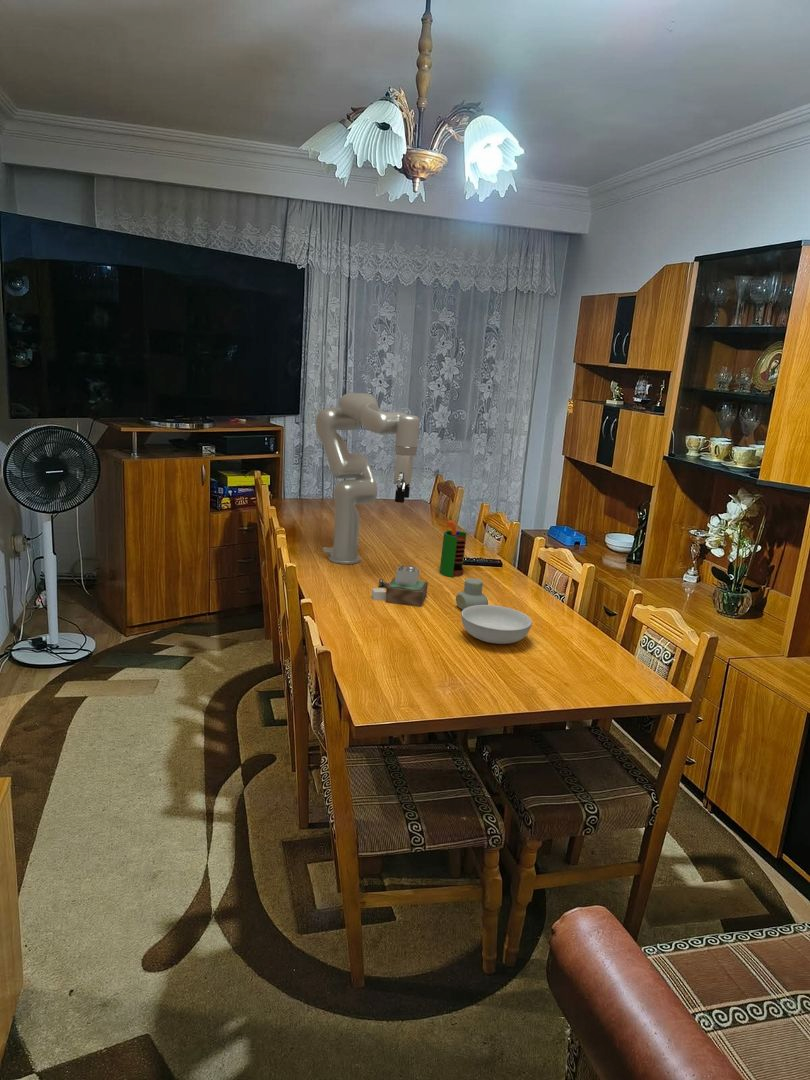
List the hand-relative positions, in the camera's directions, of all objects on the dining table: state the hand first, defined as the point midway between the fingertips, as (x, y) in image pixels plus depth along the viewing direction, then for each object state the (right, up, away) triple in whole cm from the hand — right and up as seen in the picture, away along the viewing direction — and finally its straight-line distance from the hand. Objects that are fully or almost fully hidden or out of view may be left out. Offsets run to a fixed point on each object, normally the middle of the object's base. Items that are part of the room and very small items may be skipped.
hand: (402, 499), depth 261 cm
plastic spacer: (-8, -34, -11) cm, 37 cm away
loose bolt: (-5, -31, +1) cm, 31 cm away
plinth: (+2, -34, -10) cm, 35 cm away
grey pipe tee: (+23, -37, -15) cm, 46 cm away
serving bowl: (+28, -44, -38) cm, 64 cm away
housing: (+2, -29, -11) cm, 31 cm away
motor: (+19, -27, +24) cm, 41 cm away
